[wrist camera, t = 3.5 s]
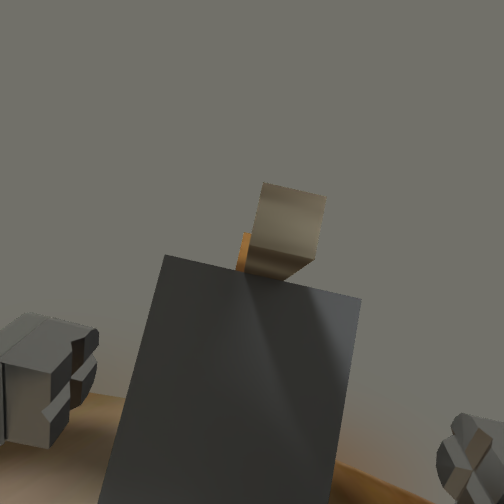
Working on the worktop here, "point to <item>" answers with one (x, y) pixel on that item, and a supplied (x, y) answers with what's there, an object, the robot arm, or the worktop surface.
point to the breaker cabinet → (233, 392)
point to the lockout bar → (282, 233)
